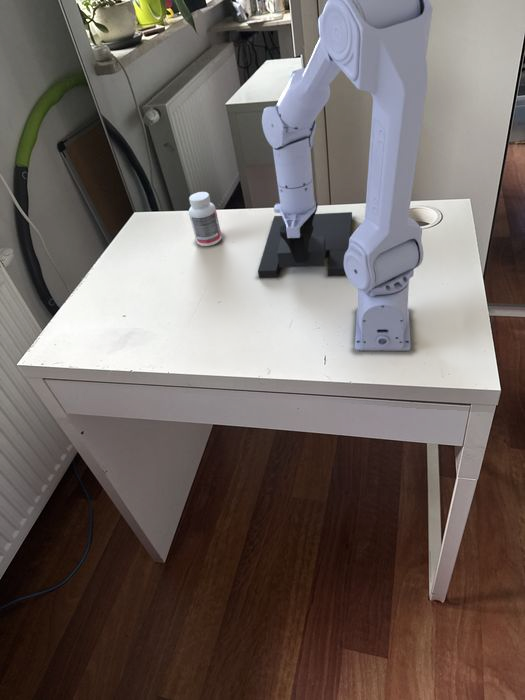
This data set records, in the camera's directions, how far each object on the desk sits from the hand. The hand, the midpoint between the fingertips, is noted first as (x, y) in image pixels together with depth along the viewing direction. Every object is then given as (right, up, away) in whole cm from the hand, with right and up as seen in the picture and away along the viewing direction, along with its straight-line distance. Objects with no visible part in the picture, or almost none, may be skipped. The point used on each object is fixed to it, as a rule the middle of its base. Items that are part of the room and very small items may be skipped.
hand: (302, 252), depth 94 cm
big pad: (+2, +2, +7) cm, 8 cm away
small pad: (0, -1, +1) cm, 1 cm away
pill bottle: (-18, +5, +15) cm, 24 cm away
